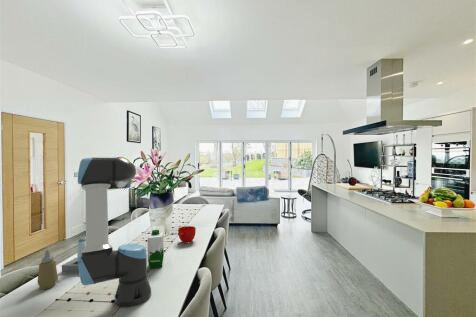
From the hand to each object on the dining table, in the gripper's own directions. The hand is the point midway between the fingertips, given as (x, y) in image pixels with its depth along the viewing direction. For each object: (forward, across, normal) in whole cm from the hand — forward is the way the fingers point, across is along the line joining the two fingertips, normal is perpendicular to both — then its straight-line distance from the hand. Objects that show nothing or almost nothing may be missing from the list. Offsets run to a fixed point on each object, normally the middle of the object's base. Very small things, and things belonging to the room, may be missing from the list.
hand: (97, 236), depth 157 cm
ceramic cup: (+15, +36, -45) cm, 59 cm away
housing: (+15, -6, 0) cm, 16 cm away
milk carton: (+16, -5, -41) cm, 44 cm away
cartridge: (+15, -12, 0) cm, 19 cm away
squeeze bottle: (+15, -33, +2) cm, 37 cm away
